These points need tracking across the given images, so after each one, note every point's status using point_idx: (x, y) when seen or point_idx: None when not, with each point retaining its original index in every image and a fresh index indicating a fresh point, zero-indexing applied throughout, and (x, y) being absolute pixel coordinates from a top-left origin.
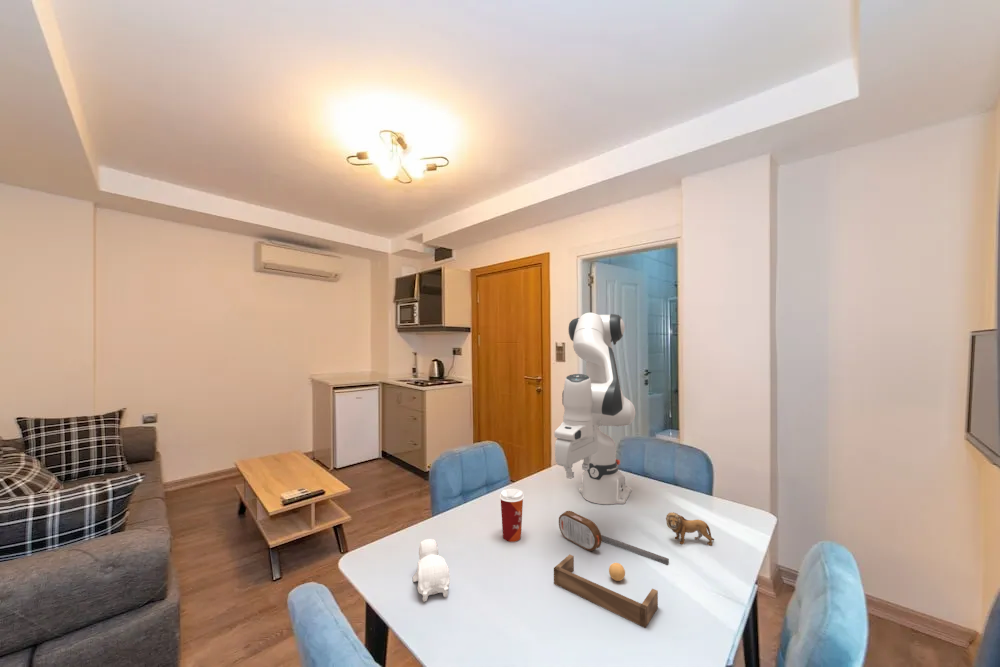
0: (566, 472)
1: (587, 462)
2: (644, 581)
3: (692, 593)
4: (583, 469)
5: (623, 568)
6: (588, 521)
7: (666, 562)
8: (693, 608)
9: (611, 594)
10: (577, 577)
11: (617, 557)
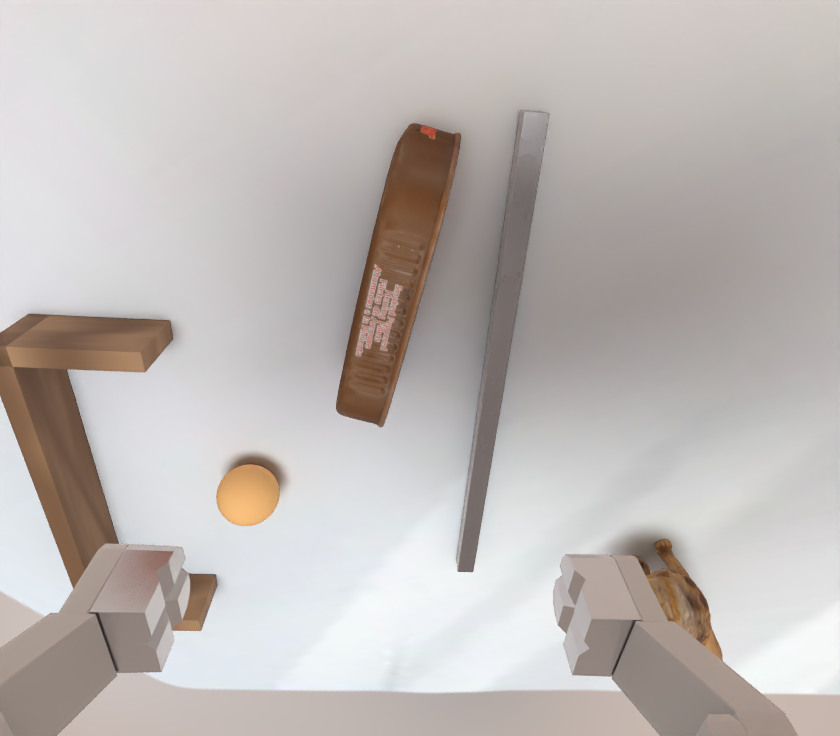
0: (62, 608)
1: (640, 689)
2: (313, 534)
3: (351, 624)
4: (564, 568)
5: (255, 524)
6: (376, 388)
7: (457, 562)
8: (287, 634)
9: (62, 554)
10: (27, 447)
11: (396, 432)
